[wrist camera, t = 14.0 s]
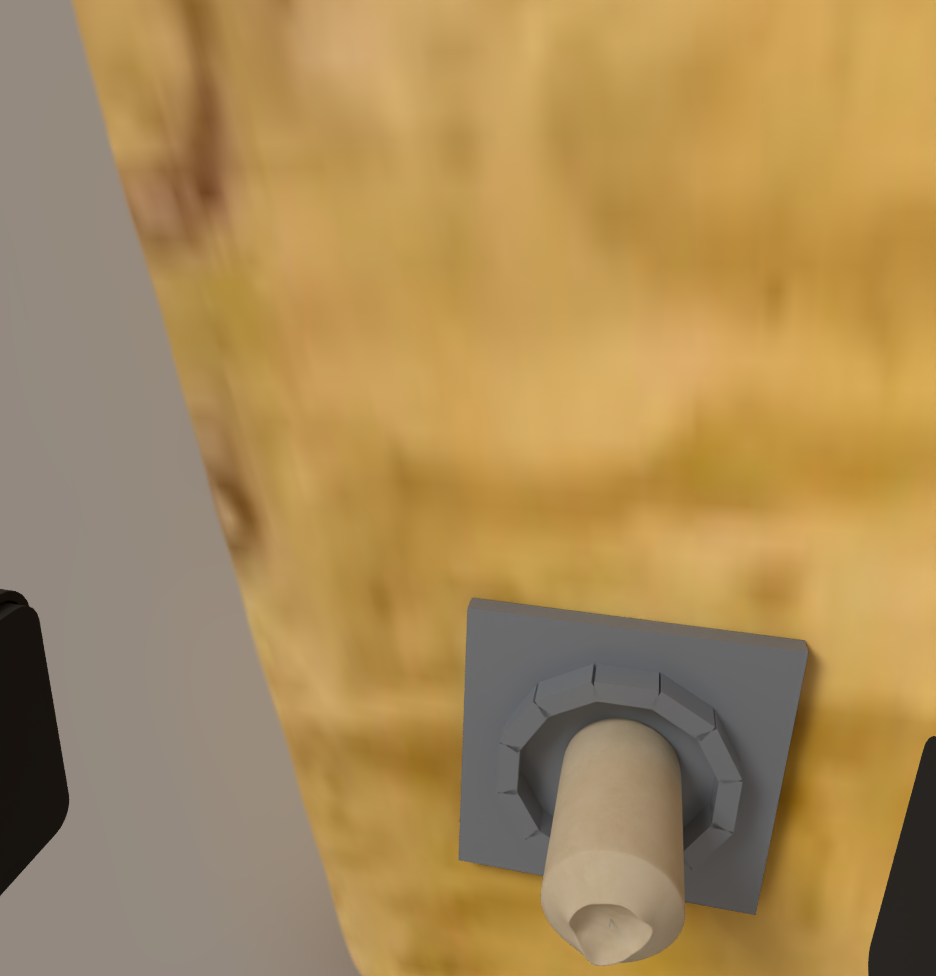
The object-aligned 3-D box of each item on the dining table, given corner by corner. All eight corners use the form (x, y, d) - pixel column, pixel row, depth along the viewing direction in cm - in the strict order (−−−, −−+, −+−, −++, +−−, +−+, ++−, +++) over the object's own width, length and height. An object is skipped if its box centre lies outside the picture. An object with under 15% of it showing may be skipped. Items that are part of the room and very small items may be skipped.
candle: (648, 829, 42) (644, 1015, 33) (545, 780, 42) (512, 951, 33) (702, 748, 40) (713, 923, 31) (593, 697, 40) (572, 856, 31)
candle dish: (804, 640, 38) (814, 671, 36) (753, 898, 43) (758, 940, 41) (472, 597, 41) (460, 623, 38) (462, 846, 46) (452, 881, 44)
